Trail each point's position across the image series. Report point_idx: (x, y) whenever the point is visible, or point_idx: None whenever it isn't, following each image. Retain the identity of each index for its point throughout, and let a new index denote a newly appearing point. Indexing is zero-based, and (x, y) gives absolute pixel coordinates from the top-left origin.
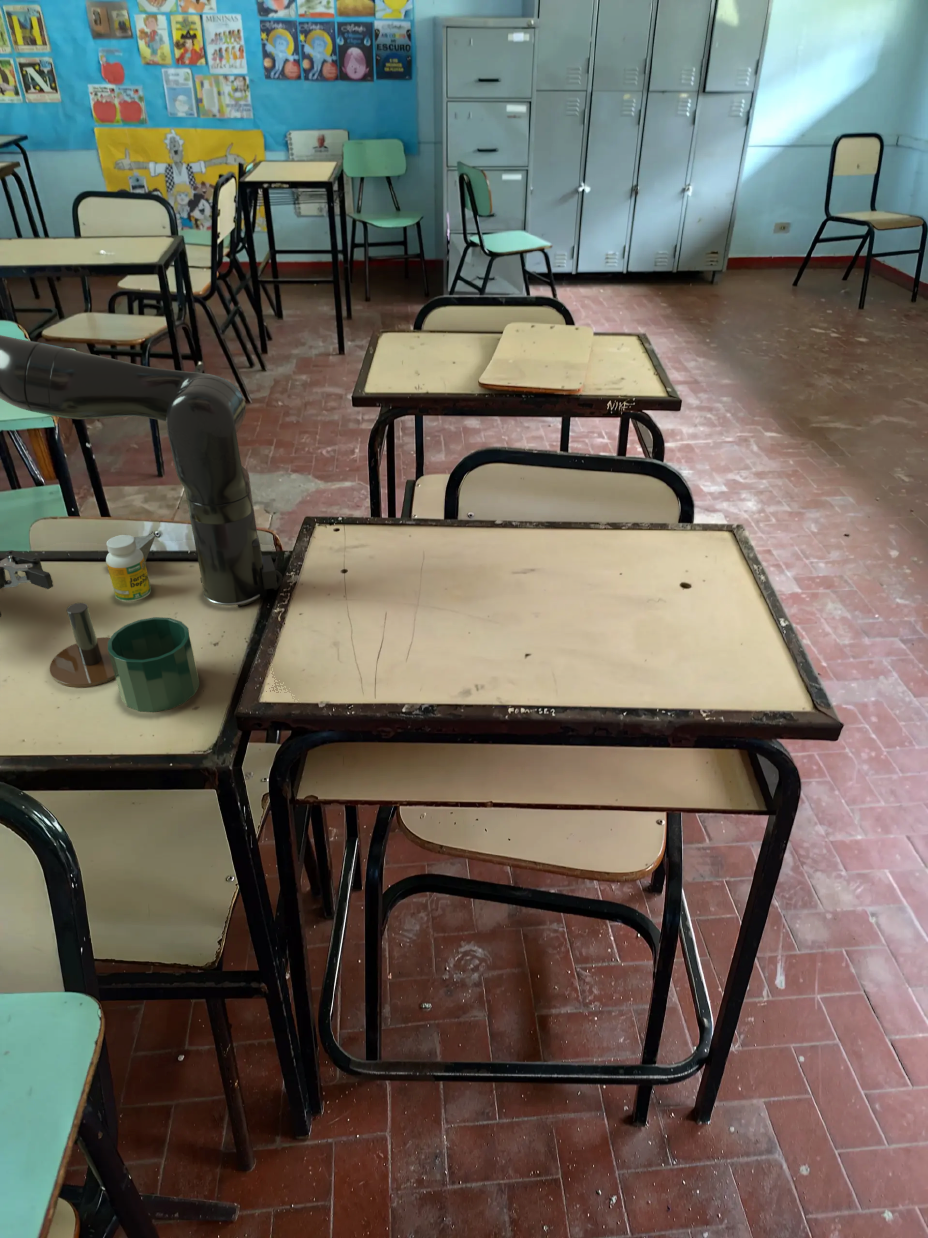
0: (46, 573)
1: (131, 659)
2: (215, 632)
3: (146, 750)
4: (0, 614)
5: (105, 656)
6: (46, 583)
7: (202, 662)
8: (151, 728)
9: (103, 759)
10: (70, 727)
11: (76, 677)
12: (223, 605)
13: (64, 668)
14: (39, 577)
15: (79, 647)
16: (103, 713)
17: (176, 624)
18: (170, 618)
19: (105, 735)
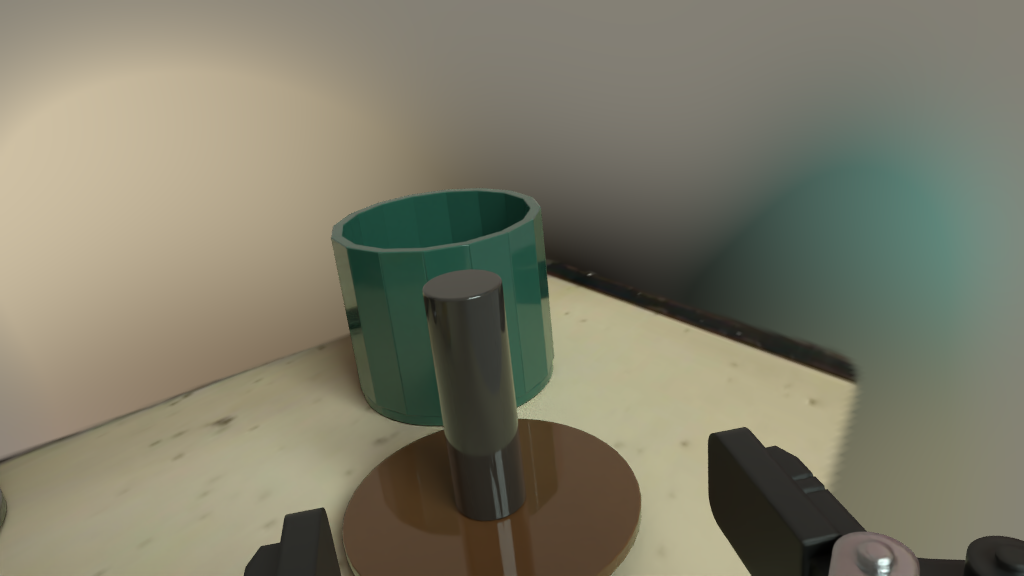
0: (288, 518)
1: (520, 196)
2: (164, 453)
3: (601, 299)
4: (712, 490)
5: (449, 490)
6: (333, 559)
7: (313, 394)
8: (557, 323)
9: (676, 312)
10: (691, 385)
11: (584, 460)
12: (4, 505)
13: (586, 512)
14: (324, 570)
15: (518, 424)
16: (603, 383)
17: (344, 233)
18: (333, 236)
19: (639, 343)
